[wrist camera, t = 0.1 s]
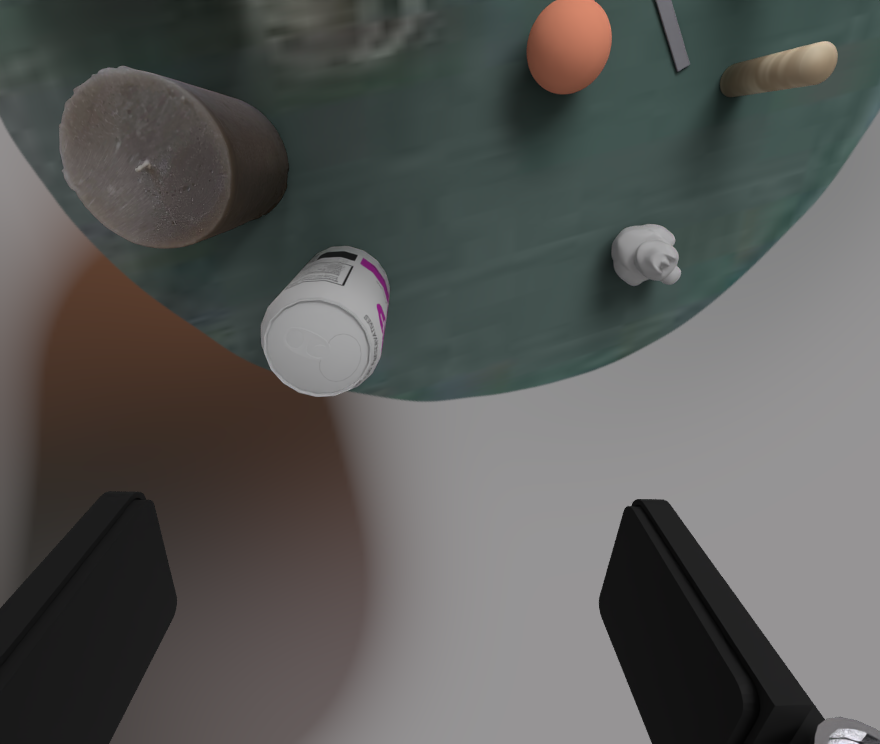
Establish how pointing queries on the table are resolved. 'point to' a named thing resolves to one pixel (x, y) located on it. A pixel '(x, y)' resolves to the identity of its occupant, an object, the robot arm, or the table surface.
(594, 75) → the ball
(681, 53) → the lane line
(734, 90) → the birch pin
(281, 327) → the supplement can
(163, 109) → the pillar candle
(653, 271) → the white figurine
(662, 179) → the table surface
